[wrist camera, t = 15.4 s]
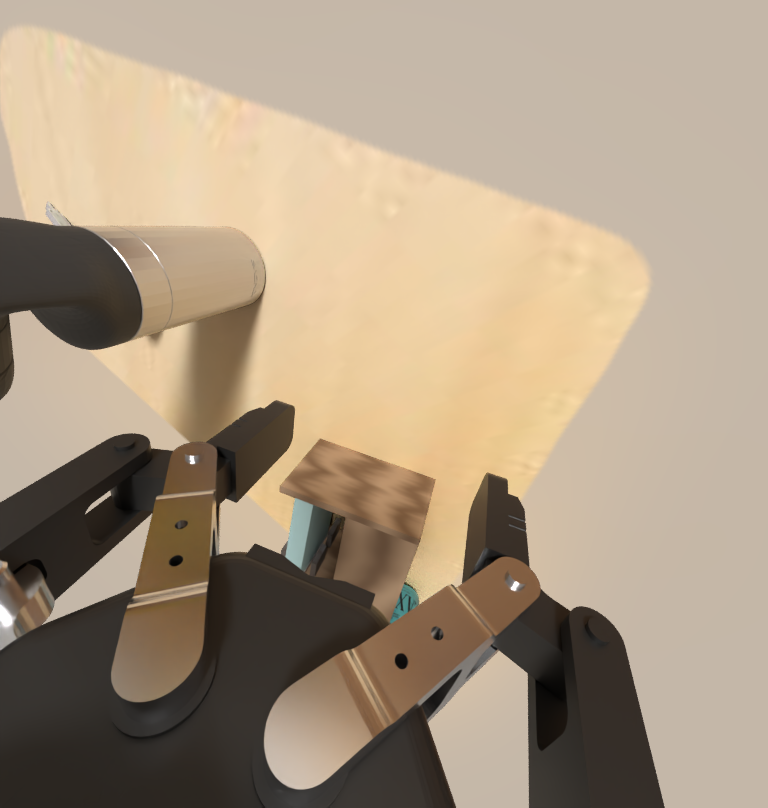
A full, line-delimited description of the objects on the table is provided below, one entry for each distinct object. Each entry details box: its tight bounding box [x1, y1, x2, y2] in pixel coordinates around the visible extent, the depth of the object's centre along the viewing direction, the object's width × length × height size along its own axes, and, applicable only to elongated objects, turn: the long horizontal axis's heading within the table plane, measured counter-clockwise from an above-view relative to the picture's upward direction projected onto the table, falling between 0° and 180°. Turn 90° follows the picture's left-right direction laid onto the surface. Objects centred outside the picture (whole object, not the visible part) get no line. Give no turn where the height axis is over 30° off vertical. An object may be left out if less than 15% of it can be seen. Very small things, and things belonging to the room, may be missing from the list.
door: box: [285, 498, 332, 572], centre depth 51 cm, size 4×14×10 cm, turn 169°
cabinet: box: [280, 439, 436, 622], centre depth 50 cm, size 18×18×11 cm
